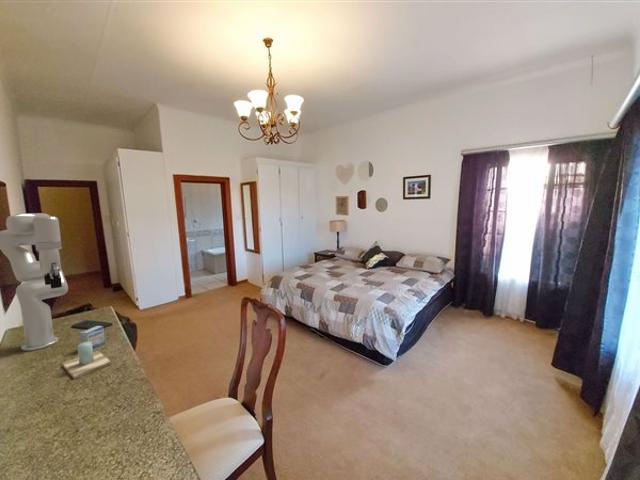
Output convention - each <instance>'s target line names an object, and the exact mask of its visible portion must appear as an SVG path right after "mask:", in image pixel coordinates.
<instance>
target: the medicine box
mask: <svg viewBox="0 0 640 480" xmlns="http://www.w3.org/2000/svg"><path fill="white" fill-rule="evenodd" d="M104 329H105V328H104ZM104 329H103V326H95V327H93V328H90V329H84V330H82V331H81V332H79V340H80V341H79V342H80V344H81V343H83V342H92V349H93V350H94V349H95V348H97V347H100V346H101V345H104V344H105V341H106V340H105V331H104Z"/></svg>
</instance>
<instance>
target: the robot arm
mask: <svg viewBox="0 0 640 480" xmlns="http://www.w3.org/2000/svg"><path fill="white" fill-rule="evenodd" d="M5 226H6V229H4V230H0V250H1V252H2V253H3V255H5V257H7V259H8V260H9V263H10V266H11V269H12V272H13V274H14V277H15V279H16V280H17V281H18V282H19V283H20V284H19V285H18V286H17V287H16V289H15V294H16V297H17V300H18V303H19V305H20V312H21V318H22V325H23V334H24V343H23V344H22V345H21V346H20V348H21V350H22V351H25V352H26V351H36V350H40V349H43V348H47V347H49V346H52V345H54V344H56V343H57V342H58V341H59V337H58V336H56V335H54V329H53V320H52V311H51V306H50V305H49V304H47V303H45V302H44V301H43V300H46V299H51V298H56V297H61V296H64V295H65V294H67V293H68V291H69V285H68V282H67V280H66V278H65V275H64V271H63V270H62V266H61V265H62V264H61V258H60V252H59V250H61V249H63V247H62V240H61V229H60V221H59V218H58V217H57V216H54V215H53V216H52V215H49V214H48V213H45V212H43V213H41V212H36V213H33V212H31V213H30V212H28V213H26V212H24V213H21V212H20V213H15V214H13V215H9V216H7V218H6V221H5ZM33 245H34V246H35V251H38V260H37V259H36V256H35V254H34V253H33V252H32V251H30V250H28V249H26V248H25V247H23V246H33Z"/></svg>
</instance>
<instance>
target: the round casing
mask: <svg viewBox="0 0 640 480" xmlns="http://www.w3.org/2000/svg"><path fill="white" fill-rule="evenodd" d="M76 348H77V355H78V357H79V365H87V364H90V363H92V362H93V361H94V358H93V352H94V348H93V349H92V342H83V343H81V342H80V343H79V344H77V345H76ZM78 357H77V358H78Z"/></svg>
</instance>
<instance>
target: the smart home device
mask: <svg viewBox="0 0 640 480" xmlns="http://www.w3.org/2000/svg"><path fill="white" fill-rule="evenodd" d="M70 326H71V328H73V329H80V330H88V329H90V328H93V327H95V326H103V328H104V329H106V327H107V328H108V326H109V327H111V326H113V323H112V322H108V321H107V322H106V321H99V320H92V319H91V320H88V319H85V320H82V321H79V322H77V323H74V324H72V325H70Z"/></svg>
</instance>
